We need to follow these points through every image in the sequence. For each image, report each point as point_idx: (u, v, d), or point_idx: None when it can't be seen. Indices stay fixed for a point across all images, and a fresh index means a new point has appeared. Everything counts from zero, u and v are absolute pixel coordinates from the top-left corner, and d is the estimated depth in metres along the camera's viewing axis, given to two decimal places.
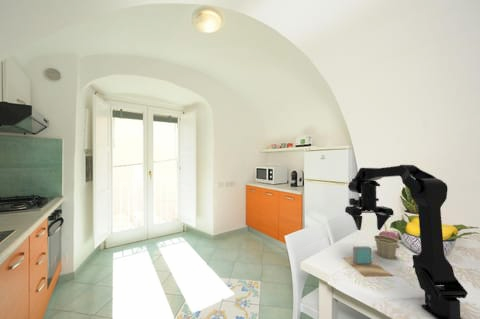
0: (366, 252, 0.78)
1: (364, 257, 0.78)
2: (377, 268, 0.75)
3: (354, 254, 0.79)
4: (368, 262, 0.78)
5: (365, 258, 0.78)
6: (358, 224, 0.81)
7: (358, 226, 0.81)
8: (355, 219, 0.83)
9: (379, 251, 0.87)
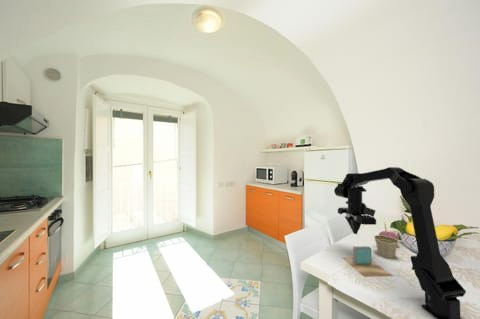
0: (366, 252, 0.78)
1: (364, 257, 0.78)
2: (377, 268, 0.75)
3: (354, 254, 0.79)
4: (368, 262, 0.78)
5: (365, 258, 0.78)
6: None
7: None
8: None
9: (379, 251, 0.87)
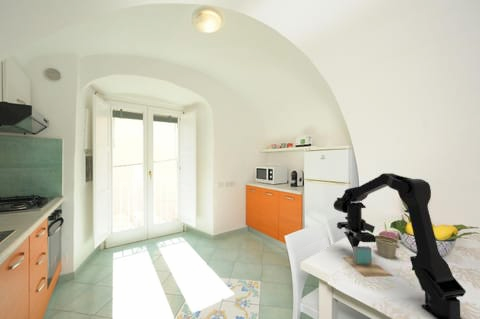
0: (366, 252, 0.78)
1: (364, 257, 0.78)
2: (377, 268, 0.75)
3: (354, 254, 0.79)
4: (368, 262, 0.78)
5: (365, 258, 0.78)
6: None
7: None
8: None
9: (379, 251, 0.87)
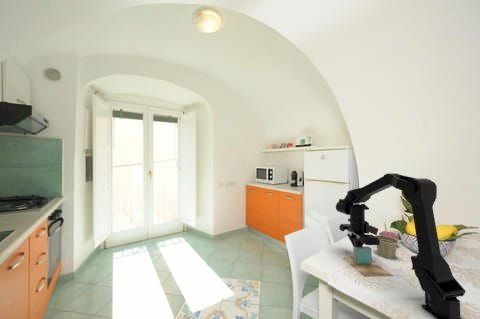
0: (366, 252, 0.78)
1: (364, 257, 0.78)
2: (377, 268, 0.75)
3: (354, 254, 0.79)
4: (368, 262, 0.78)
5: (365, 258, 0.78)
6: None
7: None
8: None
9: (379, 251, 0.87)
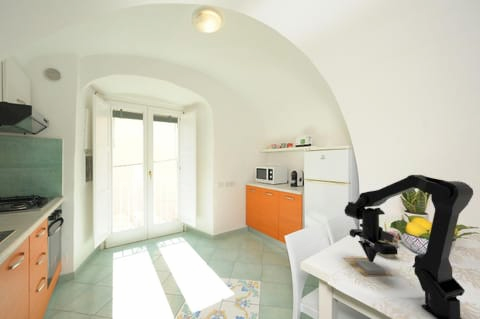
0: None
1: None
2: None
3: (362, 267, 0.74)
4: None
5: None
6: None
7: None
8: None
9: None
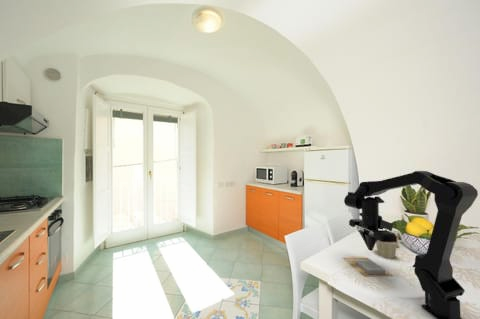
0: None
1: None
2: None
3: (362, 267, 0.74)
4: None
5: None
6: None
7: None
8: None
9: (379, 251, 0.87)
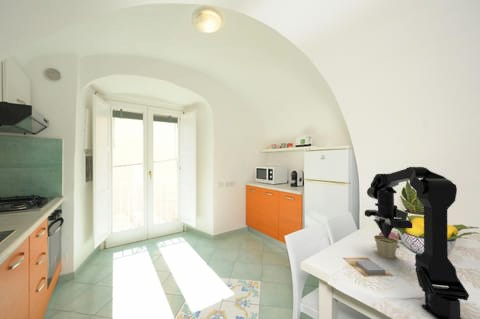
0: None
1: None
2: None
3: (362, 267, 0.74)
4: None
5: None
6: None
7: None
8: None
9: (379, 251, 0.87)
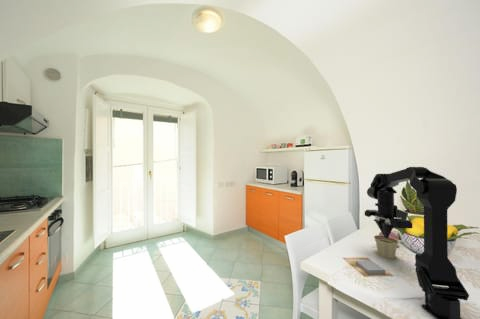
0: None
1: None
2: None
3: (362, 267, 0.74)
4: None
5: None
6: None
7: None
8: None
9: (379, 251, 0.87)
